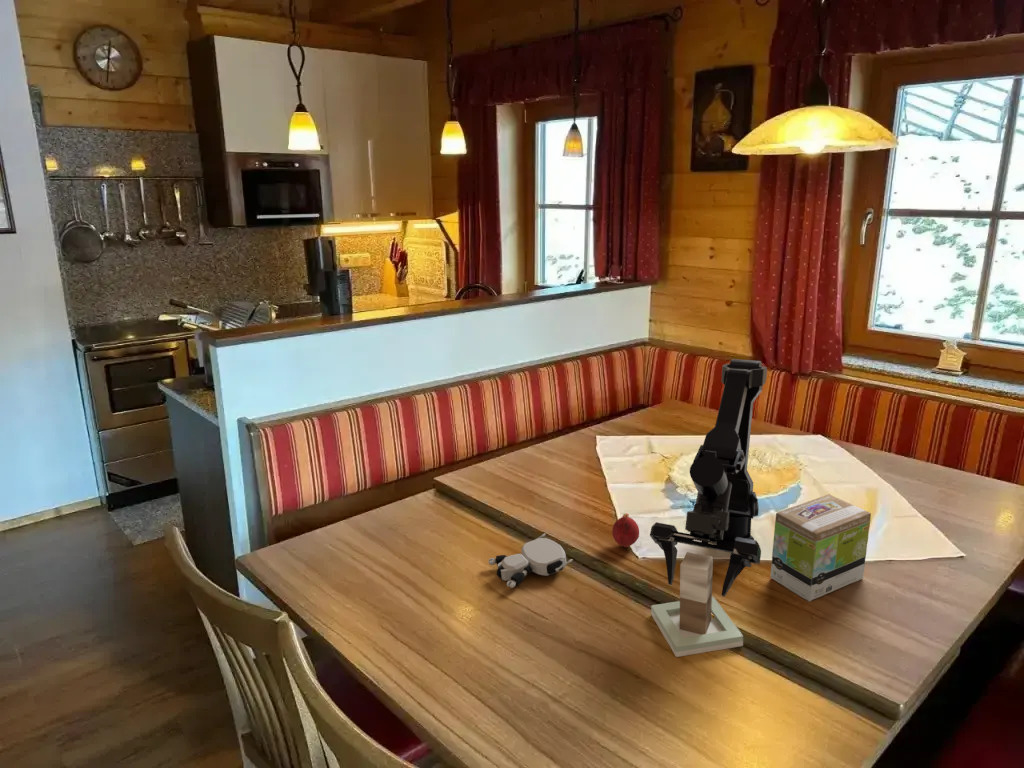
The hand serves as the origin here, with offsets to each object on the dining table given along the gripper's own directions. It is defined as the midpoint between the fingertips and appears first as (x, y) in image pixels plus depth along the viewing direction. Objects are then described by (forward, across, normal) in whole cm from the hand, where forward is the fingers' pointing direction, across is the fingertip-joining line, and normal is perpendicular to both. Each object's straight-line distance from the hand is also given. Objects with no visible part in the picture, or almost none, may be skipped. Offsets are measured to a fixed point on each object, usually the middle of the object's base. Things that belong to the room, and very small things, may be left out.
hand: (696, 590), depth 123 cm
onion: (-10, -20, +22) cm, 31 cm away
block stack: (+5, 0, +5) cm, 7 cm away
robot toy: (+2, -36, +10) cm, 37 cm away
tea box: (-11, +18, +24) cm, 32 cm away
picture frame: (+6, 0, +6) cm, 8 cm away
